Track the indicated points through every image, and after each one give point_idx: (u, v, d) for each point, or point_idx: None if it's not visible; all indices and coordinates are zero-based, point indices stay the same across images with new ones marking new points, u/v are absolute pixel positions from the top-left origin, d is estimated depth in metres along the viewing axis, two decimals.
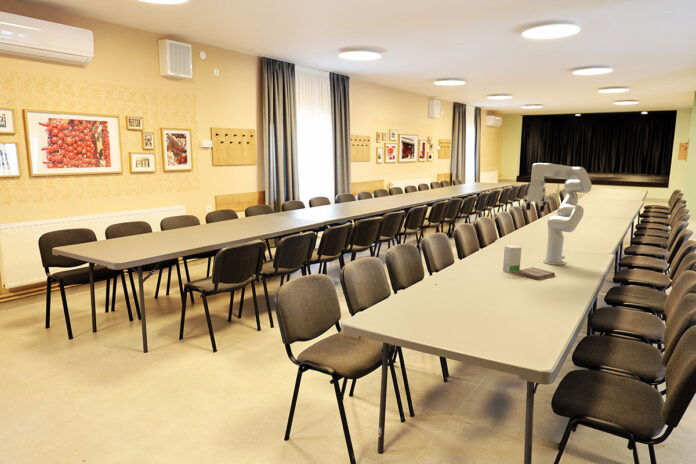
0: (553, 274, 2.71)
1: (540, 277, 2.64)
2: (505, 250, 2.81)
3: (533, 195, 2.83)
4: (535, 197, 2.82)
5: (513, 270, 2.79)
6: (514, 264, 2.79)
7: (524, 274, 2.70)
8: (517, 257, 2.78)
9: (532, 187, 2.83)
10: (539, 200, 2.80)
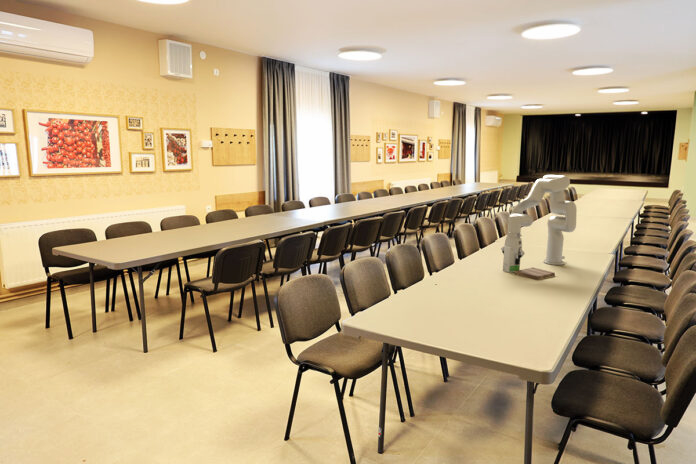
0: (553, 274, 2.71)
1: (540, 277, 2.64)
2: (505, 250, 2.81)
3: None
4: None
5: (513, 270, 2.79)
6: (514, 264, 2.79)
7: (524, 274, 2.70)
8: None
9: (508, 239, 2.79)
10: (515, 252, 2.76)
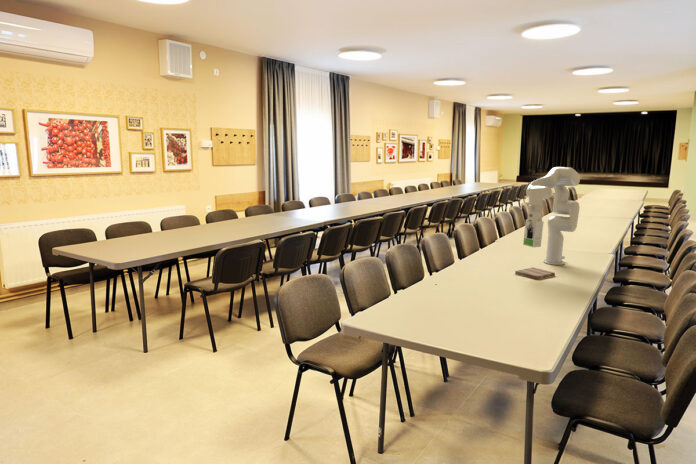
0: (553, 274, 2.71)
1: (540, 277, 2.64)
2: None
3: None
4: None
5: (527, 243, 2.72)
6: None
7: (524, 274, 2.70)
8: None
9: None
10: None
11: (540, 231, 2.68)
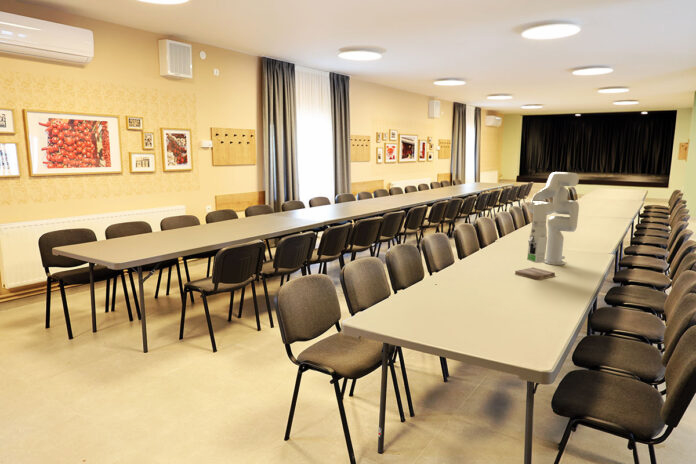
0: (553, 274, 2.71)
1: (540, 277, 2.64)
2: None
3: None
4: None
5: (530, 259, 2.72)
6: None
7: (524, 274, 2.70)
8: None
9: None
10: None
11: (543, 247, 2.67)
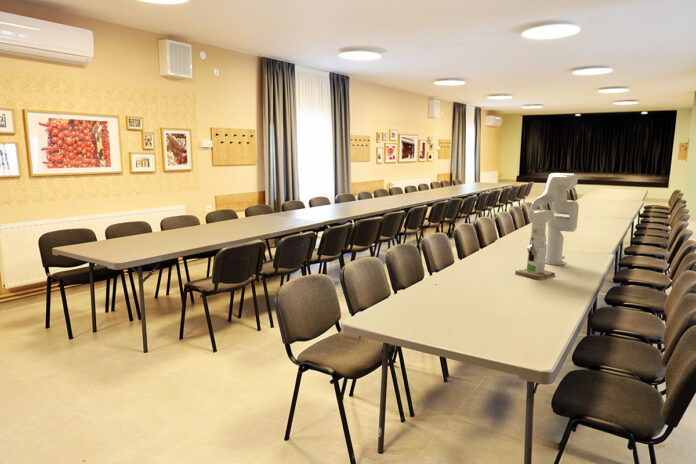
0: (553, 274, 2.71)
1: (540, 277, 2.64)
2: None
3: None
4: None
5: (530, 269, 2.73)
6: (531, 263, 2.72)
7: (524, 274, 2.70)
8: (534, 257, 2.70)
9: None
10: None
11: (543, 257, 2.69)
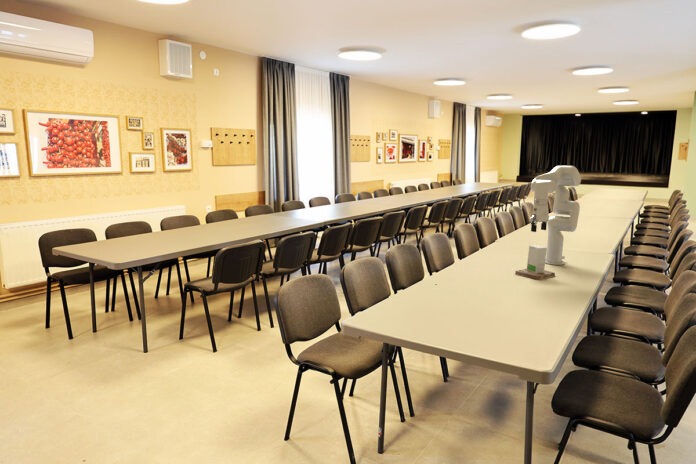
0: (553, 274, 2.71)
1: (540, 277, 2.64)
2: None
3: None
4: None
5: (530, 269, 2.73)
6: (531, 263, 2.72)
7: (524, 274, 2.70)
8: (534, 257, 2.70)
9: None
10: None
11: (543, 257, 2.69)
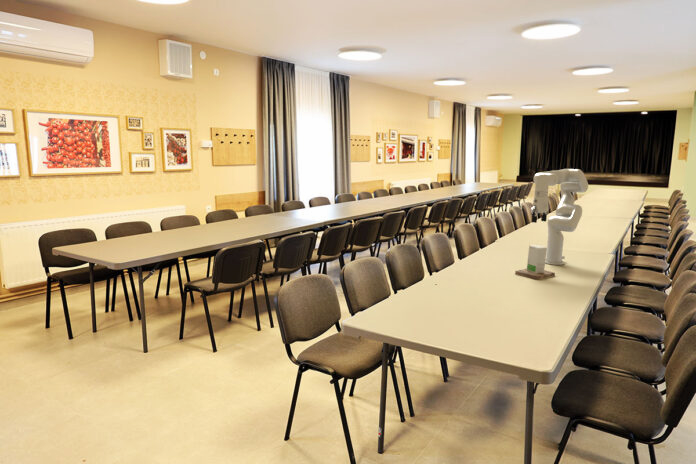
0: (553, 274, 2.71)
1: (540, 277, 2.64)
2: None
3: None
4: None
5: (530, 269, 2.73)
6: (531, 263, 2.72)
7: (524, 274, 2.70)
8: (534, 257, 2.70)
9: None
10: None
11: (543, 257, 2.69)
